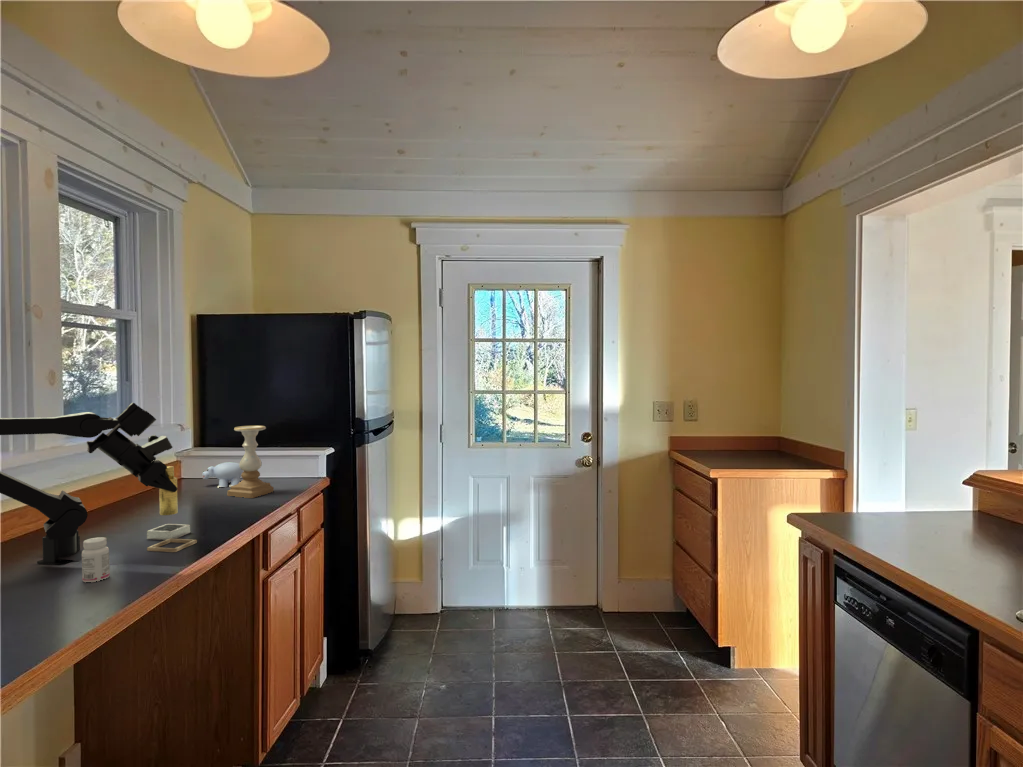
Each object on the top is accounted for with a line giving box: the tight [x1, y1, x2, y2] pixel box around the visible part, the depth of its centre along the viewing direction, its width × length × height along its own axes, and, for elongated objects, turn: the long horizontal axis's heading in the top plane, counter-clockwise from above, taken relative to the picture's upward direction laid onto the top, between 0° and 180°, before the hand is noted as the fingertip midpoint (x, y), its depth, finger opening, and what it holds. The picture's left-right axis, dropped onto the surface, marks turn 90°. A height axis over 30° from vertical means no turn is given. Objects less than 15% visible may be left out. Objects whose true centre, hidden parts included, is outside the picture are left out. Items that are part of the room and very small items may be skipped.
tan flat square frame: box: [146, 538, 198, 553], centre depth 140 cm, size 8×8×2 cm
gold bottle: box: [158, 465, 179, 516], centre depth 148 cm, size 4×4×12 cm
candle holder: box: [226, 425, 275, 499], centre depth 204 cm, size 11×11×24 cm
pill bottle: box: [81, 536, 111, 583], centre depth 123 cm, size 5×5×8 cm
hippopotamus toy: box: [201, 461, 244, 489], centre depth 219 cm, size 11×15×10 cm
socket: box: [146, 523, 192, 541], centre depth 149 cm, size 7×7×4 cm
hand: (174, 489), depth 149 cm, fingers closed on gold bottle, 4 cm apart
